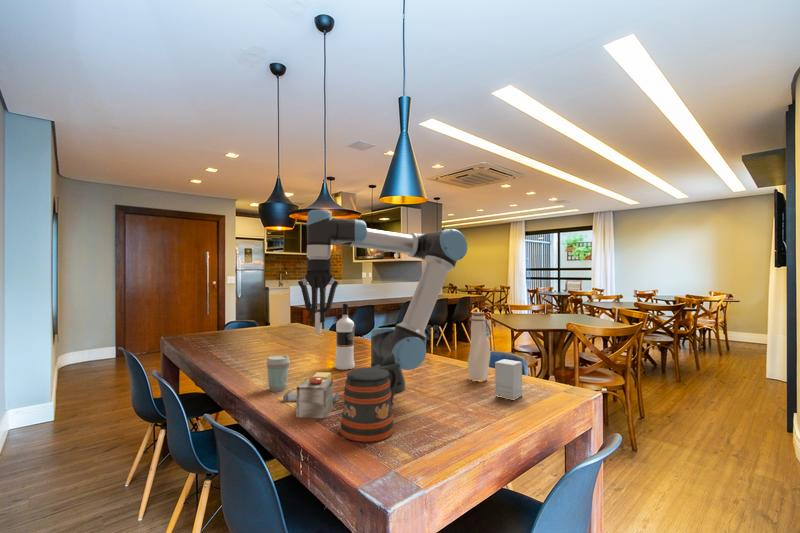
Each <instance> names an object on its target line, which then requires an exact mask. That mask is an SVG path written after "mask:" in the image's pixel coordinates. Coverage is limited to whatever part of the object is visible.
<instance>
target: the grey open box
mask: <svg viewBox="0 0 800 533" xmlns="http://www.w3.org/2000/svg"><path fill="white" fill-rule="evenodd" d="M296 393H297V401H296V412H295V413H296V416H295V417H296V418H308V419H309V418H313V419H317V418H318V419H327V417H328V416H329V414H330V413H331V411H332V410H333V408H334V407H333V406H334V405H333V404H334V403H333V394H334V380H333V379H331V380H322V383H320V385H312V384H311V383H309V378H307V379H306V378H305V379H304V380H303V381H302V382H301V383H300V384H298V386H296Z"/></svg>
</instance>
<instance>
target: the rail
mask: <svg viewBox="0 0 800 533" xmlns="http://www.w3.org/2000/svg"><path fill="white" fill-rule="evenodd" d="M339 399H340V392H336V393H333V404H337V403H338V401H339ZM282 402H283V403H286V402H297V392H295V391H294V392H292V391H287V392H285V394H284V395H283V396H282Z"/></svg>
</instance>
